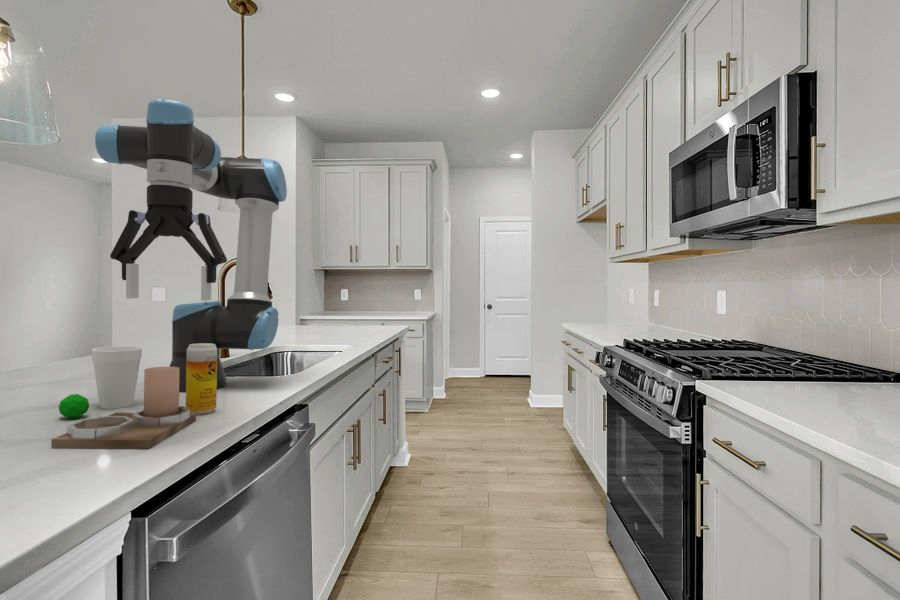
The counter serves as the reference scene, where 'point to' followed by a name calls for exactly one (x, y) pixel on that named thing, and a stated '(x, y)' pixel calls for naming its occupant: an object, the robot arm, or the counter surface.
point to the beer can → (201, 378)
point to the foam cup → (116, 374)
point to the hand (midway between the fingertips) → (169, 299)
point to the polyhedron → (73, 406)
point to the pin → (161, 391)
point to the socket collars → (121, 424)
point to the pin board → (125, 436)
